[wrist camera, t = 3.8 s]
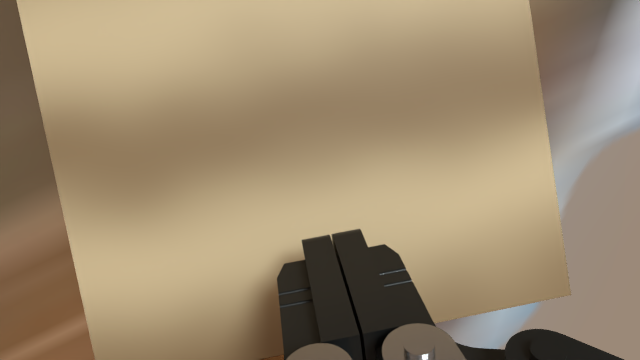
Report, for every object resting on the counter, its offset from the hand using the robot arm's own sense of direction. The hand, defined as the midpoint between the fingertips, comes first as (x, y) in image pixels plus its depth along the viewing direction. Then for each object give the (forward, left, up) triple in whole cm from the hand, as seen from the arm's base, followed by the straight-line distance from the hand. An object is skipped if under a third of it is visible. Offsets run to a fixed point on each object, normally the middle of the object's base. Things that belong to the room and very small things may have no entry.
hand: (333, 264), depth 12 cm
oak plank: (-2, 0, -6) cm, 6 cm away
